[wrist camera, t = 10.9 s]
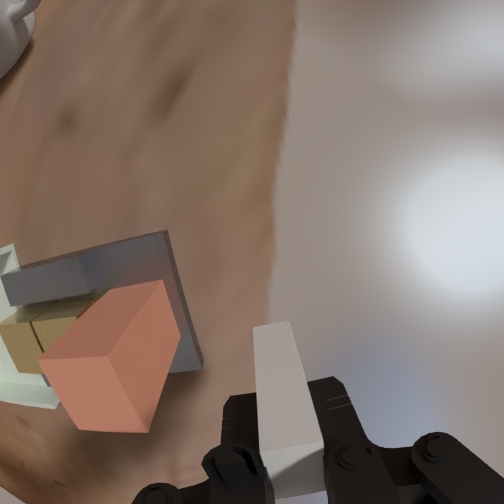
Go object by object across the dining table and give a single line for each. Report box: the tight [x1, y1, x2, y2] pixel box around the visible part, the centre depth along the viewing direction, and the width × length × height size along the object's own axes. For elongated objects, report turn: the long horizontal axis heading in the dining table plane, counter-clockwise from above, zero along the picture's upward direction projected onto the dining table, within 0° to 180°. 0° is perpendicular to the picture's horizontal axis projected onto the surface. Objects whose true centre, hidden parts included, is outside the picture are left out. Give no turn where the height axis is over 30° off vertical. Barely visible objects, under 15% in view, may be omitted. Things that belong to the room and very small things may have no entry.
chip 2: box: [32, 292, 103, 352], centre depth 17 cm, size 4×4×4 cm
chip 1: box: [0, 300, 58, 374], centre depth 17 cm, size 4×4×4 cm
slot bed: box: [0, 230, 204, 387], centre depth 19 cm, size 14×10×3 cm
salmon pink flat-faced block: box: [37, 279, 181, 433], centre depth 15 cm, size 4×4×9 cm
